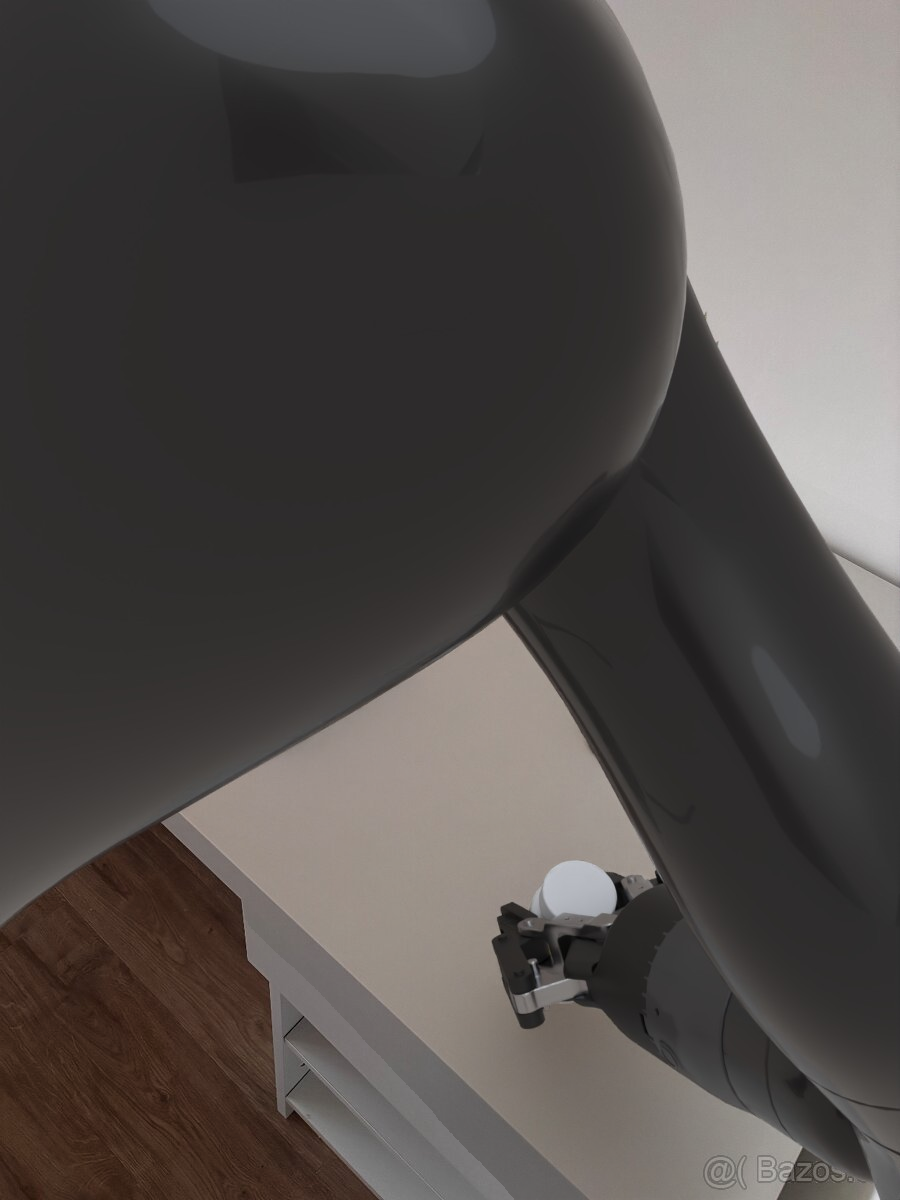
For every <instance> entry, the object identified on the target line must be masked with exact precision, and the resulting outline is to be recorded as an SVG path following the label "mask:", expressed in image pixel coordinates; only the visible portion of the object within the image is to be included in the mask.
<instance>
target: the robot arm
mask: <svg viewBox="0 0 900 1200" xmlns="http://www.w3.org/2000/svg"><path fill="white" fill-rule="evenodd" d="M684 208H685V207H684V198H683V194H682V187H681V183H680V178H679V173H678V168H677V163H676V158H675V153H674V150H673V148H672V145H671V142H670V139H669V136H668V133H667V131H666V128H665V125H664V122H663V119H662V117H661V114H660V111H659V108H658V106H657V103H656V101H655V98H654V95H653V93H652V90H651V88H650V85H649V82H648V80H647V77H646V74H645V72H644V69H643V67H642V65H641V62H640V60H639V58H638V56H637V53H636V52H635V50H634V47H633V45H632V43H631V41H630V39H629V36H628V35H627V34H626V32H625V31H624V29H623V26H622V25H621V23H620V21H619V19H618V18H617V16H616V14H615V12H614V10H613V9H612V8H611V6H610V5H609V3H608V2H607V1H606V0H0V932H2V930H4V929H5V928H6V927H7V926H8V925H9V924H11V922H13V921H14V920H15V919H16V918H17V917H18V916H19V915H21V914H22V913H23V912H24V911H26V910H27V909H28V908H29V907H31V906H33V904H34V903H36V902H37V901H38V900H40V898H42V897H43V896H45V895H46V894H47V893H48V892H50V891H51V890H53V889H54V888H56V887H58V886H59V885H60V884H62V883H63V882H65V881H67V879H69V878H71V877H72V876H74V875H75V874H77V873H78V872H80V871H81V870H83V869H85V868H86V867H87V866H89V865H91V864H93V863H94V862H97V861H98V860H100V859H101V858H102V857H104V856H106V855H107V854H110V853H111V852H112V851H115V850H117V848H119V847H121V846H123V845H125V843H127V842H129V841H131V840H132V839H134V838H136V837H138V836H141V834H143V833H145V832H147V831H148V830H150V829H152V828H153V827H155V826H157V825H159V824H161V823H163V822H164V821H166V820H168V819H169V818H171V817H173V816H174V815H176V814H179V813H180V812H182V811H184V810H185V809H187V808H189V807H191V806H192V805H194V804H196V803H198V802H199V801H201V800H203V799H204V798H206V797H208V796H209V795H212V794H213V793H215V792H216V791H219V790H220V789H222V788H223V787H225V786H227V785H230V784H231V783H232V782H234V781H236V780H237V779H240V778H241V777H242V776H243V777H244V775H246V774H248V773H250V772H252V771H254V770H255V769H257V768H259V767H260V766H262V765H263V764H266V763H268V762H269V761H272V760H273V759H274V758H276V757H278V756H279V755H282V754H283V753H285V752H286V751H289V750H290V749H292V748H294V747H295V746H297V745H299V744H301V743H302V742H304V741H306V740H307V739H309V738H311V737H313V736H314V735H316V734H317V733H320V732H321V731H323V730H325V729H327V728H328V727H330V726H332V725H333V724H335V723H337V722H339V721H341V720H342V719H345V718H346V717H348V716H349V715H351V714H353V713H355V712H356V711H358V710H359V709H361V708H362V707H365V706H366V705H368V704H370V703H371V702H373V701H375V700H376V699H377V698H379V697H380V696H382V695H384V694H386V693H387V692H388V691H390V690H392V689H393V688H395V687H397V686H399V685H400V684H402V683H403V682H405V681H407V680H408V679H410V678H411V677H413V676H415V675H416V674H418V673H420V672H421V671H423V670H425V669H426V668H428V667H429V666H432V664H434V663H436V662H437V661H439V660H441V659H442V658H444V657H445V656H447V655H448V654H450V653H452V652H453V651H454V650H456V649H457V648H459V647H460V646H461V645H463V644H465V643H466V642H467V641H469V640H470V639H472V638H473V637H475V636H476V635H478V634H479V633H481V632H482V631H483V630H485V629H486V628H488V627H489V626H490V625H491V624H493V623H494V622H495V621H497V620H498V619H499V618H501V617H503V619H504V620H505V622H506V623H507V624H508V626H509V627H510V628H511V629H512V631H513V632H514V633H515V635H516V636H517V637H518V638H519V640H520V641H521V643H522V644H523V645H524V647H525V648H526V650H527V651H528V652H529V654H530V655H531V657H532V658H533V659H534V661H535V663H536V664H537V665H538V666H539V668H540V669H541V670H542V672H543V673H544V675H545V676H546V678H547V680H548V681H549V682H550V685H552V687H553V688H554V690H555V692H556V693H557V695H558V696H559V697H560V699H561V700H562V702H563V704H564V705H565V707H566V708H567V710H568V712H569V714H570V716H571V717H572V719H573V721H574V722H575V724H576V726H577V727H578V729H579V731H580V733H581V734H582V736H583V738H584V740H585V741H586V743H587V745H588V746H589V748H591V749H590V750H591V752H592V753H593V756H594V757H595V759H596V760H597V762H598V764H599V766H600V768H601V769H602V771H603V774H604V775H605V777H606V779H607V781H608V782H609V784H610V786H611V788H612V791H613V792H614V794H615V795H616V797H617V800H618V801H619V803H620V805H621V807H622V809H623V810H624V812H625V814H626V816H627V818H628V821H630V824H631V825H632V827H633V829H634V831H635V833H636V835H637V837H638V839H639V840H640V842H641V845H642V846H643V848H644V850H645V852H646V853H647V856H648V857H649V859H650V861H651V863H652V865H653V866H654V868H655V870H654V875H655V877H654V878H649V879H645V878H644V876H643V875H641V874H629V875H627V876H624V875H622V874H618V873H616V872H613V871H605V870H603V871H604V872H605V873H606V874H607V875H608V876H609V877H610V879H611V880H612V882H613V884H614V886H615V889H616V894H617V903H616V908H615V912H613V913H612V914H607V913H600V914H599V915H597V916H596V917H594V916H587V915H579V914H572V913H561V914H559V915H558V916H556V917H555V918H553V919H551V920H550V919H543V918H538V915H536V914H534V913H532V912H531V911H529V909H527V908H525V907H523V906H521V905H519V903H516V902H514V901H510V902H508V903H505V904H503V905H501V906H500V908H499V909H500V910H499V911H500V914H501V915H498V916H496V922H497V925H498V929H499V932H500V934H498V935H496V936H494V937H493V938H492V939H491V945H492V949H493V952H494V954H495V956H496V960H497V964H498V966H499V970H500V974H501V981H502V984H503V989H504V991H505V992H506V995H507V998H508V1000H509V1002H510V1005H511V1007H512V1010H513V1012H514V1015H515V1017H516V1020H517V1022H518V1024H519V1027H520V1028H521V1029H523V1030H533V1029H535V1028H539V1027H540V1026H542V1025H543V1024H544V1023H545V1022H546V1017H545V1016H546V1015H545V1013H544V1012H545V1011H547V1010H549V1009H550V1008H551V1005H554V1004H558V1003H557V1002H561V1001H564V1000H567V999H570V998H571V999H572V1000H573V1001H574V1003H575V1004H577V1005H578V1006H581V1007H584V1008H593V1009H598V1010H601V1011H602V1012H603V1013H604V1014H605V1015H606V1016H607V1017H608V1019H609V1020H610V1021H611V1022H612V1023H613V1024H614V1026H615V1027H616V1028H617V1029H618V1030H619V1031H620V1033H622V1034H623V1035H625V1037H626V1038H628V1039H629V1040H630V1041H631V1042H632V1043H634V1044H635V1045H637V1046H639V1047H640V1048H642V1049H643V1050H645V1052H648V1053H649V1054H650V1055H652V1056H653V1057H655V1058H656V1059H658V1060H660V1061H661V1062H662V1063H664V1064H666V1065H667V1066H668V1067H670V1068H671V1069H673V1070H674V1071H675V1072H677V1073H678V1074H680V1075H682V1076H683V1077H685V1078H686V1079H688V1080H689V1081H690V1082H692V1083H694V1084H695V1085H696V1086H698V1087H699V1088H701V1089H702V1090H704V1091H705V1092H707V1093H708V1094H710V1095H711V1096H713V1097H715V1098H716V1099H718V1100H720V1101H722V1102H723V1103H725V1104H727V1105H729V1106H731V1107H733V1108H736V1109H739V1110H740V1111H742V1112H746V1113H748V1114H751V1115H753V1116H755V1117H756V1118H758V1119H760V1120H762V1121H763V1122H764V1123H766V1124H768V1125H770V1126H771V1127H772V1128H773V1129H775V1130H777V1131H778V1132H780V1133H781V1134H783V1135H784V1136H786V1137H787V1138H789V1139H790V1140H792V1141H793V1142H794V1143H796V1144H798V1145H799V1146H800V1147H802V1148H803V1149H805V1151H807V1152H809V1153H811V1155H813V1156H815V1157H816V1158H818V1159H819V1160H821V1161H822V1162H824V1163H825V1164H827V1165H829V1166H831V1167H832V1168H833V1169H836V1170H837V1171H839V1172H840V1173H843V1174H846V1175H847V1176H850V1177H852V1178H854V1179H856V1180H859V1181H862V1182H865V1183H868V1184H869V1183H870V1184H874V1186H875V1189H876V1192H877V1196H878V1198H879V1200H900V650H899V648H897V647H898V646H897V645H896V644H895V642H894V641H893V639H891V637H890V635H889V634H888V633H887V631H886V629H885V628H884V627H883V625H882V624H881V622H880V621H879V620H878V618H877V617H876V615H875V614H874V612H873V611H872V609H871V608H870V607H869V605H868V604H867V602H866V601H865V599H864V598H863V596H862V594H861V593H860V592H859V590H858V589H857V587H856V586H855V584H854V583H853V581H852V579H851V578H850V576H849V575H848V572H846V570H845V569H844V567H843V565H842V563H840V561H839V559H838V558H837V556H836V554H835V553H834V551H833V550H832V548H831V547H830V546H829V544H828V542H826V541H827V540H825V538H824V536H823V534H822V532H821V531H820V529H819V528H818V526H817V524H816V522H815V521H814V519H813V518H812V516H811V513H809V511H808V509H807V507H806V506H805V504H804V502H803V500H802V499H801V498H800V496H799V494H798V493H797V490H796V489H795V487H794V486H793V484H792V482H791V481H790V479H789V478H788V475H787V474H786V472H785V470H784V469H783V467H782V465H781V463H780V462H779V460H778V458H777V455H776V454H775V453H774V451H773V449H772V447H771V445H770V443H769V442H768V440H767V438H766V436H765V435H764V433H763V431H762V429H761V427H760V425H759V423H758V421H757V420H756V419H755V416H754V414H753V413H752V411H751V409H750V408H749V406H748V403H747V401H746V399H745V397H744V395H743V394H742V391H741V389H740V387H739V385H738V383H737V381H736V380H735V377H734V375H733V374H732V372H731V369H730V368H729V365H728V363H727V362H726V360H725V357H724V356H723V353H722V352H721V350H720V348H719V345H718V346H717V344H716V342H717V341H716V339H715V338H714V336H713V332H712V331H711V329H710V326H709V323H708V321H707V318H706V319H705V316H704V315H705V313H704V312H703V309H702V307H701V304H700V302H699V300H698V297H697V295H696V293H695V290H694V288H693V286H692V285H693V284H692V282H691V280H690V278H689V276H688V243H687V241H688V239H687V231H686V218H685V209H684ZM547 943H548V944H547ZM548 945H549V948H550V951H549V948H548ZM550 952H551V954H550Z"/></svg>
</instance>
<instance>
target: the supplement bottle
mask: <svg viewBox="0 0 900 1200" xmlns="http://www.w3.org/2000/svg"><path fill="white" fill-rule="evenodd" d="M604 871H605V870H603V869H602V868H600V867H599V866H597V864H596V865H595V864H594V863H591V862H589V861H585V860H579V859H578V860H577V859H576V860H575V859H574V860H573V859H572V860H565V861H562V862H559V863H558V864H556V865H554V866H553V867H552V868H551V869H550V870H549V871H548V872H547V873H546V875H545V876H544V879H543V881H542V885H540V886H539V887H538V889H537V890H536V892H535V893H534V895H533V897H532V899H531V902H530V905H529V909H528V910H529V911H531V912H532V913H534V914H536V915H538V918H543V919H550V920H551V919H553V918H555V917H556V916H558V915H559V914H561V913H572V914H579V915H587V916H594V917H596V916H597V915H599V914H600V913H607V914H612V913H613V912H615V908H616V903H617V894H616V889H615V886H614V884H613V882H612V880H611V879H610V877H609V876H608V875H607V874H606V873H605V872H606V871H605V872H604ZM547 944H548V943H547ZM548 948H549V945H548ZM549 951H550V948H549ZM550 954H551V952H550ZM574 1003H575V1002H574V1001H573V1000H572V999H571V998H570V999H567V1000H564V1001H561V1002H557V1003H556V1004H558V1005H559V1004H560V1005H569V1004H574Z"/></svg>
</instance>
